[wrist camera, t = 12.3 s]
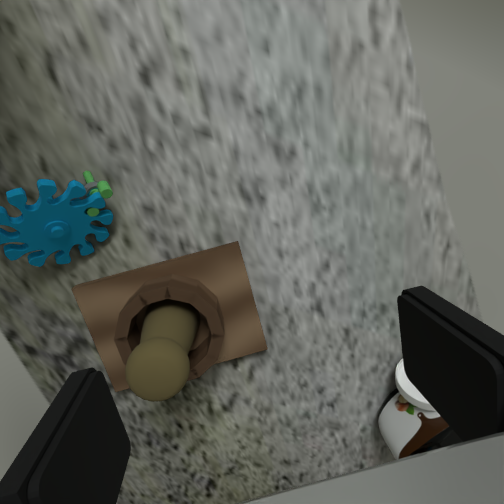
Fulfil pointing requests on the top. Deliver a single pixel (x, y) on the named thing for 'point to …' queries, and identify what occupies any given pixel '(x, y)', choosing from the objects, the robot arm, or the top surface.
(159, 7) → the top surface
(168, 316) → the cork
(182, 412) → the top surface
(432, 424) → the spread jar
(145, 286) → the shaker stand
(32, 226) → the gear
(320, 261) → the top surface
